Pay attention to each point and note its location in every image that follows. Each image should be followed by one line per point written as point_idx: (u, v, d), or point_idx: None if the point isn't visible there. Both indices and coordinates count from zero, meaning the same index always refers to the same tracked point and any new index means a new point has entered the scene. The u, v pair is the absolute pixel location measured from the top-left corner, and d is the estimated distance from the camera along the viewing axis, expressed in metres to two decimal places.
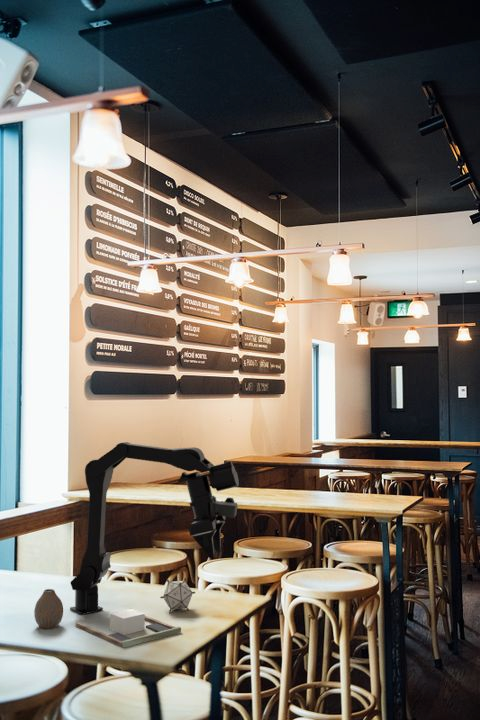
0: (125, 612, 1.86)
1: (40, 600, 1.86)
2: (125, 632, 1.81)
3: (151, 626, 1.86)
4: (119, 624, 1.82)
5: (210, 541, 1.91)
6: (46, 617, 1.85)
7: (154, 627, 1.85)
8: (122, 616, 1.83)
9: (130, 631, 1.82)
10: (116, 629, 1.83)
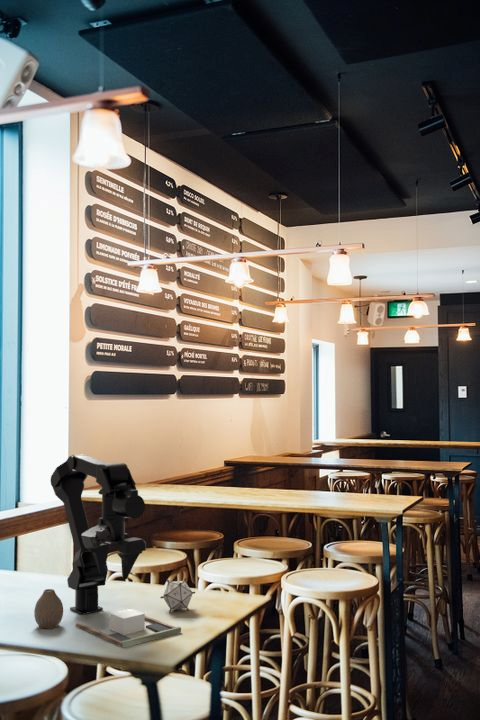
0: (125, 612, 1.86)
1: (40, 600, 1.86)
2: (126, 632, 1.81)
3: (151, 626, 1.86)
4: (119, 624, 1.82)
5: None
6: (46, 617, 1.85)
7: (154, 627, 1.85)
8: (122, 616, 1.83)
9: (130, 631, 1.82)
10: (117, 630, 1.83)
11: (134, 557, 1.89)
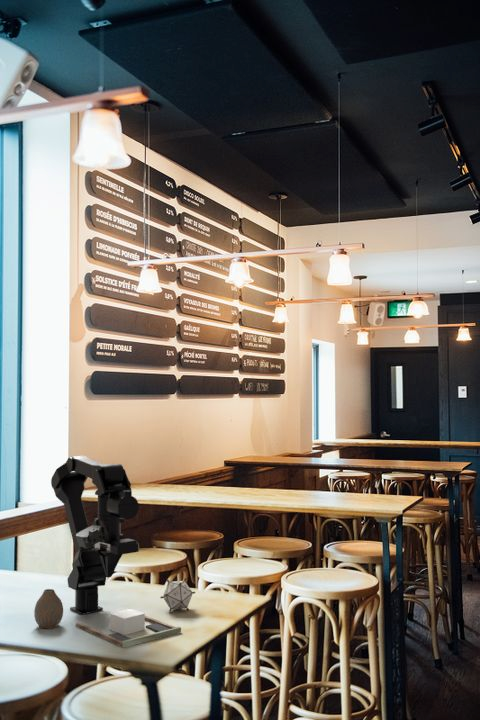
0: (125, 612, 1.86)
1: (40, 600, 1.86)
2: (126, 632, 1.81)
3: (151, 626, 1.86)
4: (119, 624, 1.82)
5: None
6: (46, 617, 1.85)
7: (154, 627, 1.85)
8: (122, 616, 1.82)
9: (131, 631, 1.82)
10: (117, 630, 1.83)
11: (118, 555, 1.92)
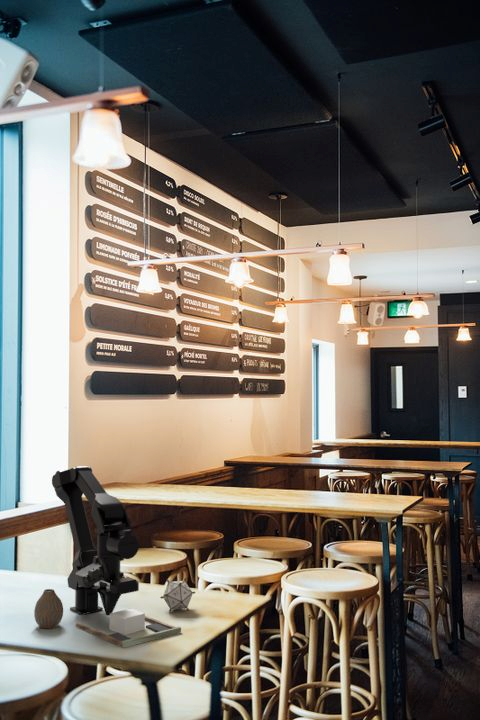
0: (125, 612, 1.86)
1: (40, 600, 1.86)
2: (126, 632, 1.81)
3: (151, 626, 1.86)
4: (120, 624, 1.82)
5: None
6: (46, 617, 1.85)
7: (154, 627, 1.85)
8: (123, 616, 1.82)
9: (131, 631, 1.82)
10: (117, 630, 1.83)
11: (118, 594, 1.91)
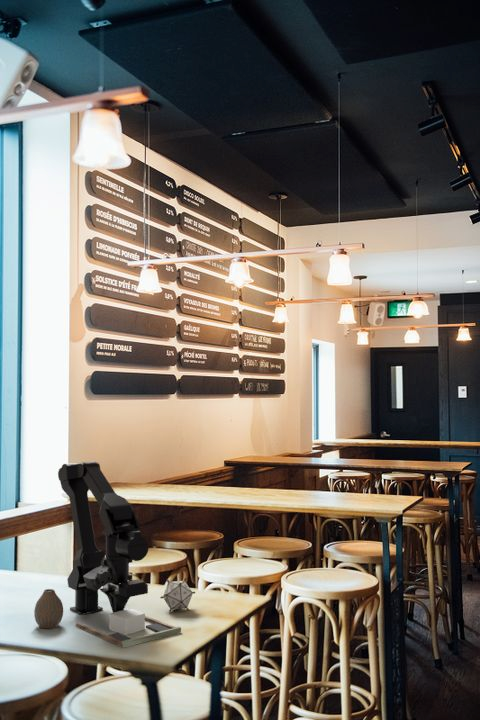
0: (125, 612, 1.86)
1: (40, 600, 1.86)
2: (126, 632, 1.81)
3: (151, 626, 1.86)
4: (120, 624, 1.82)
5: None
6: (46, 617, 1.85)
7: (154, 627, 1.85)
8: (123, 616, 1.82)
9: (131, 631, 1.82)
10: (117, 630, 1.83)
11: (126, 596, 1.88)
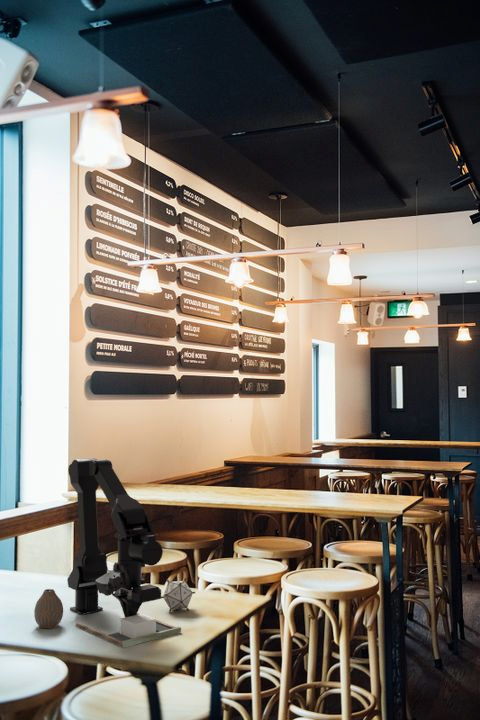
0: (136, 617, 1.82)
1: (40, 600, 1.86)
2: None
3: None
4: (130, 630, 1.78)
5: None
6: (46, 617, 1.85)
7: None
8: (133, 622, 1.78)
9: None
10: (127, 635, 1.79)
11: (139, 601, 1.84)
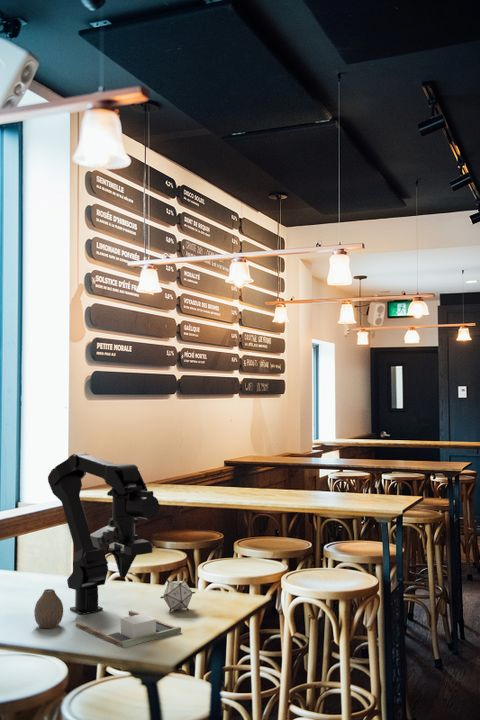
0: (136, 617, 1.82)
1: (40, 600, 1.86)
2: None
3: None
4: (129, 630, 1.78)
5: None
6: (46, 617, 1.85)
7: None
8: (133, 622, 1.78)
9: None
10: (127, 635, 1.79)
11: (132, 556, 1.92)
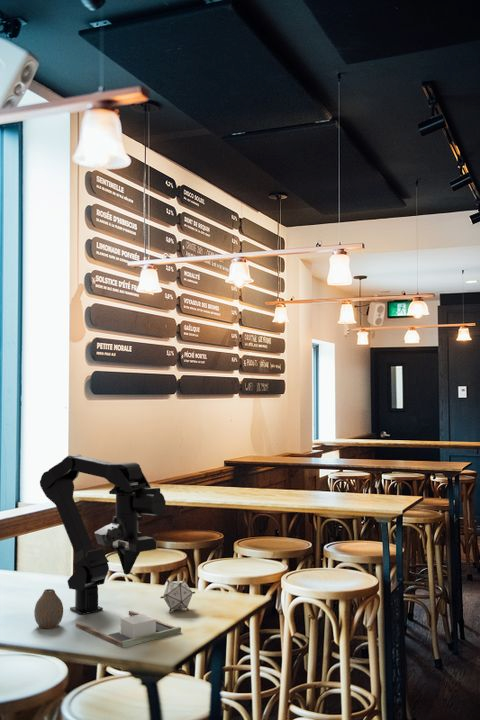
0: (136, 617, 1.82)
1: (40, 600, 1.86)
2: None
3: None
4: (129, 630, 1.78)
5: None
6: (46, 617, 1.85)
7: None
8: (132, 622, 1.78)
9: None
10: (127, 635, 1.79)
11: (136, 553, 1.95)
